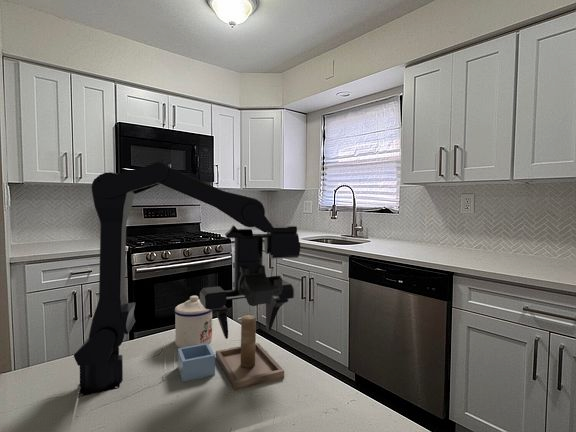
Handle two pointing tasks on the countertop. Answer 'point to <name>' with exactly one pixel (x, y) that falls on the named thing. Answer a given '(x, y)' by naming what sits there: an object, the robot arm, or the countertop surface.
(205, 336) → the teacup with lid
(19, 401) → the countertop surface
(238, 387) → the tray
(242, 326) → the dowel pin
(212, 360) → the holder cup
